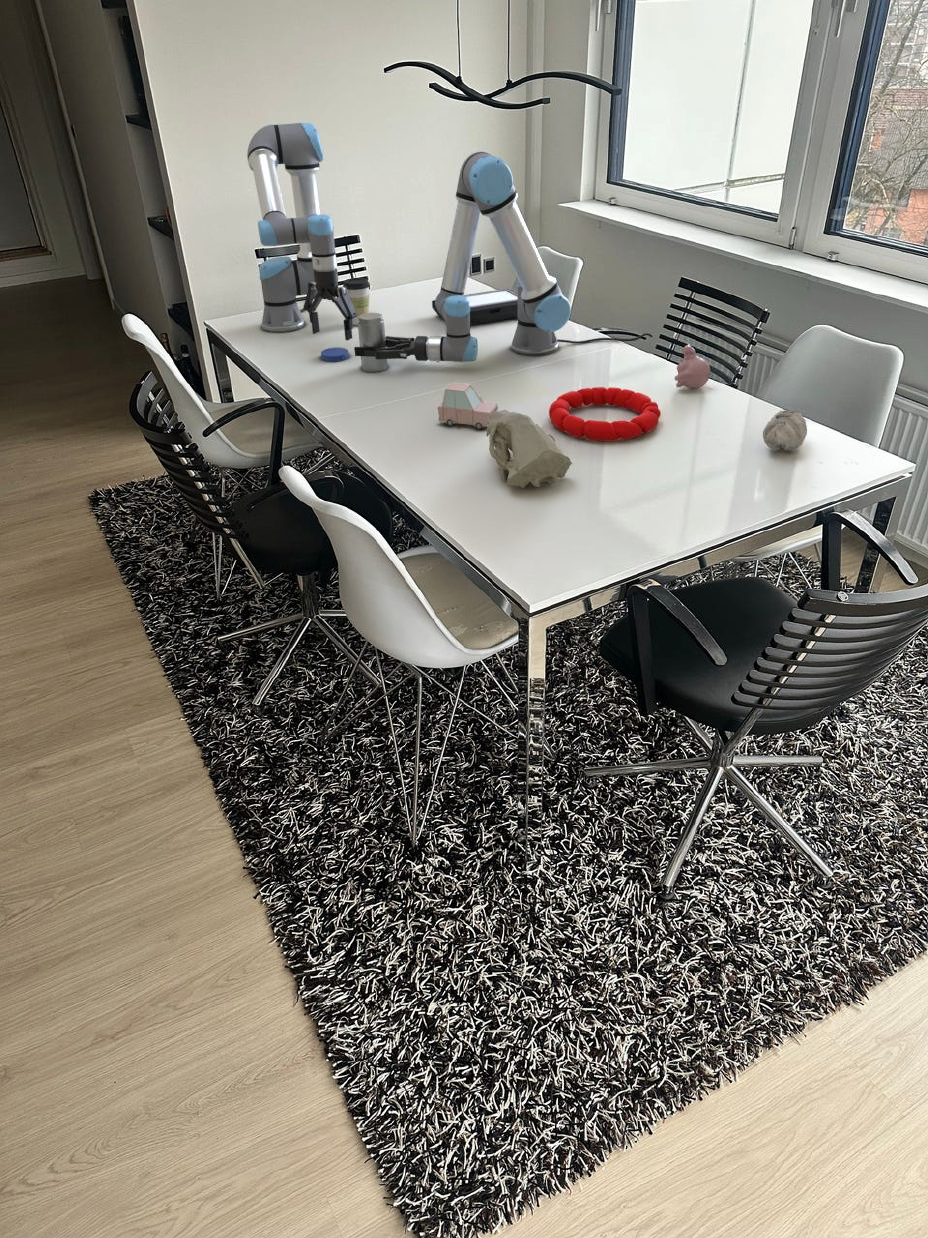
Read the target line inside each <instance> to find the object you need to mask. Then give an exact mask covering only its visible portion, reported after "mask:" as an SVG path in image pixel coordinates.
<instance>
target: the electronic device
mask: <svg viewBox="0 0 928 1238" xmlns="http://www.w3.org/2000/svg"><path fill="white" fill-rule="evenodd" d="M464 296H465V297H467V298H468V299H469V306H470V326H473V325H480V324H486V323H487V324H488V323H492V322H499V321H500V322H501V321H506V320H511V319H518V292H516V291H514V290H511V289H509V288H503V289H494V290H489V291H481V292H476V293H469V294H468V293H467V294H464ZM435 300H436V299H433V300H431V307H432V309H433V311H434V312H435V314H436V315H437V317H439V318H441V319H442V320H444V318H443V317H442V316H441V315H440V314H439V312H438V311H437V308H436V305H435Z"/></svg>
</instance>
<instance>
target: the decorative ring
mask: <svg viewBox="0 0 928 1238" xmlns="http://www.w3.org/2000/svg"><path fill="white" fill-rule="evenodd" d="M583 405H584V406H586V407H587V406H591V405H593V406H604V405H608V406H614V407H619V408H624V409H628V410H632V411H635V412H636V413H638V414H639V415H637V416H635V417H632V418H631V419H630V420H625V419H624V420H623V419H622V420H614V421H611V422H609V421H607V420H606V421H605V420H593V419H587V420H586V421H585V419H584V418H582V417H579V416H577V415H573V414H571V413H570V410H571V409H579V408H581V407H582V406H583ZM548 416H549V419H550V422H551V423H552V425H553V426H554V427H555V428H556V429H558V430H559V431H561V432H563V433H567V434H568V435H569V436H573V437H576V438H580V439H582V438H583V437H585V438H586V439H587V440H591V441H601V442H602V441H603V442H608V441H609V442H610V441H611V442H612V441H615V442H616V441H618V440H630V439H634V438H638V437H641V436H642V434H647V433H650V432H651V431H653V430H654V429H655V428H656V427H657V426H658V424H659V422H660V421H659V420H660V417H661V410H660V408H659V405H658V403H657V402H656V401H652V399H651V397H649V396H648V395H646V394H644V393H642V392H635V391H634V390H632V389H628V388H624V389H622V388H620V387H613V386H612V387H611V386H610V387H608V388H606V387H604V386H594V387H585V388H584V387H583V388H580V389H578V390H571V391H568V392H565V393H563V394H561V395H560V396H558V397H557V398H556V400H554V401H552V403H551V404H550V407H549V409H548Z"/></svg>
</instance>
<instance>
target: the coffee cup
mask: <svg viewBox="0 0 928 1238" xmlns="http://www.w3.org/2000/svg"><path fill="white" fill-rule="evenodd" d="M344 286H345V287H346V288H347V294H348V296H349V298H350V300H351V302H352V305H353V307H354V309H355V311H356V313H357V317H355V318H353V319H352V322H353V326H357V327H358V321H359V319H358V316H359V315H361V314H364V313H370V287H371V283H370V282H369V279H367V278H365V277H351V278H347V279H345V280H344V281H343V285H342V287H344Z"/></svg>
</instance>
